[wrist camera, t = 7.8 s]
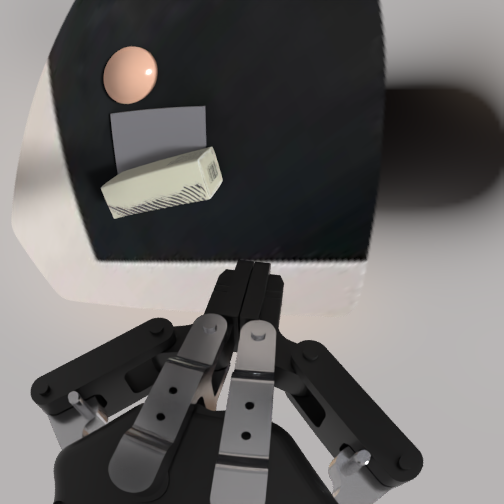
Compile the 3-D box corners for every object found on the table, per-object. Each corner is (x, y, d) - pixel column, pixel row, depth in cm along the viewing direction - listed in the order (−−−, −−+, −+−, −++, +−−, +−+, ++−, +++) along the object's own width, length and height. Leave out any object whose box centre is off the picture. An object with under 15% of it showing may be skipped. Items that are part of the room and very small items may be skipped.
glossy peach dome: (106, 53, 26) (102, 53, 25) (157, 42, 25) (153, 41, 24) (109, 106, 30) (105, 107, 29) (158, 99, 29) (155, 100, 28)
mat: (113, 113, 30) (110, 114, 30) (205, 105, 29) (203, 106, 28) (123, 194, 37) (121, 195, 36) (208, 198, 35) (207, 200, 34)
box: (225, 181, 33) (134, 200, 36) (214, 144, 30) (122, 170, 34) (210, 201, 28) (113, 220, 32) (196, 159, 26) (98, 187, 30)
